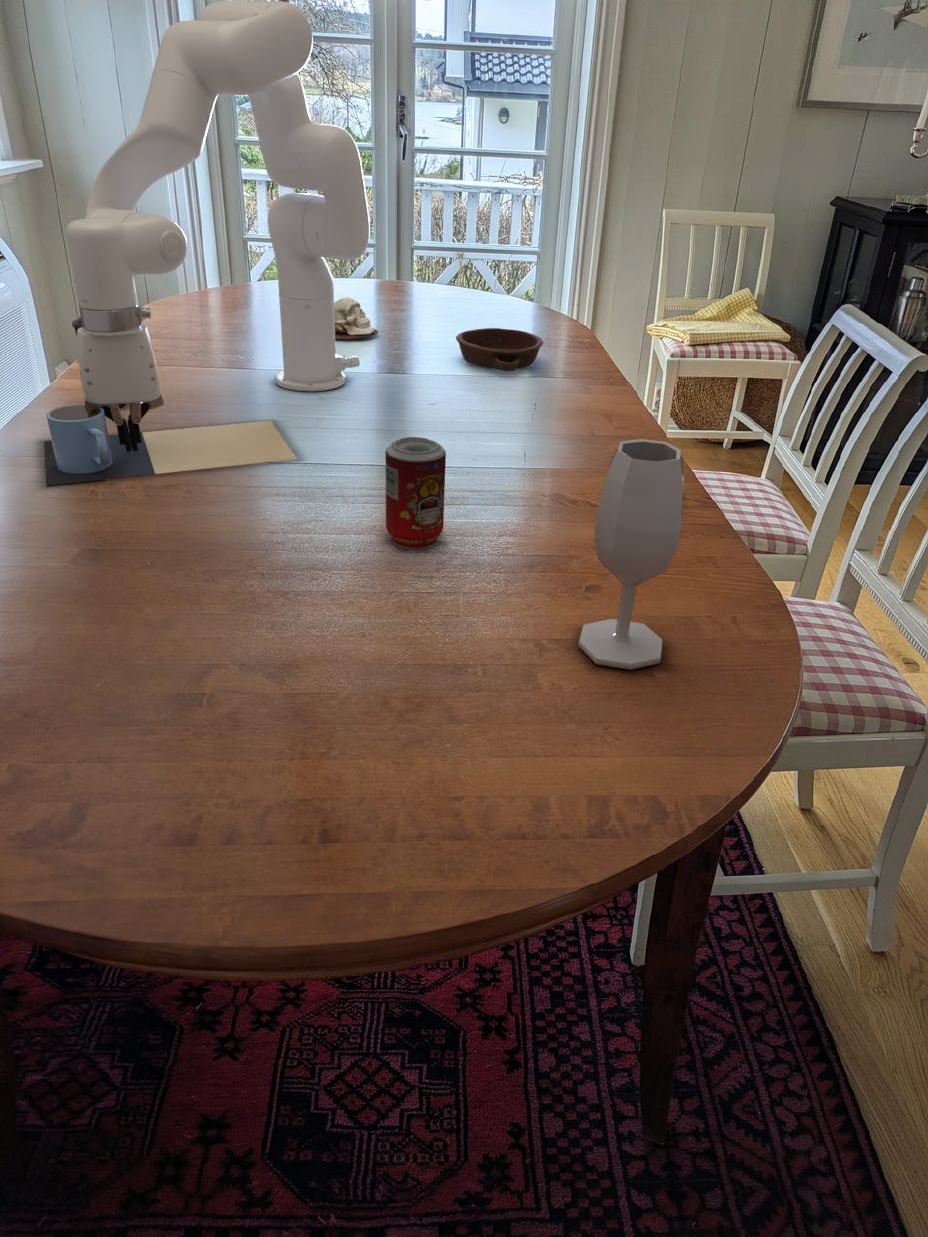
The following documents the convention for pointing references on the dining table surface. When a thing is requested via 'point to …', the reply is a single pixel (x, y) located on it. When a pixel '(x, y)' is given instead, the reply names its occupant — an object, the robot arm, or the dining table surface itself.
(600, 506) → the wineglass
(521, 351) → the dish
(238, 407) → the dining table surface
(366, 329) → the skull
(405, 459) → the soda can
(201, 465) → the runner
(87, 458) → the mug
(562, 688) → the dining table surface
